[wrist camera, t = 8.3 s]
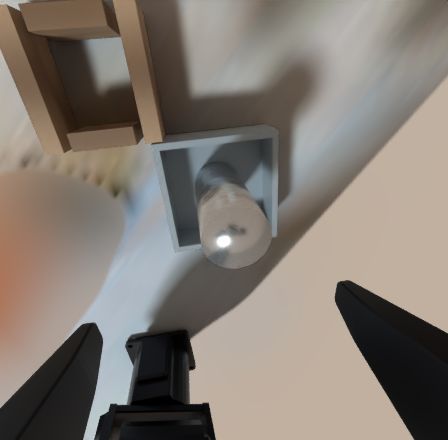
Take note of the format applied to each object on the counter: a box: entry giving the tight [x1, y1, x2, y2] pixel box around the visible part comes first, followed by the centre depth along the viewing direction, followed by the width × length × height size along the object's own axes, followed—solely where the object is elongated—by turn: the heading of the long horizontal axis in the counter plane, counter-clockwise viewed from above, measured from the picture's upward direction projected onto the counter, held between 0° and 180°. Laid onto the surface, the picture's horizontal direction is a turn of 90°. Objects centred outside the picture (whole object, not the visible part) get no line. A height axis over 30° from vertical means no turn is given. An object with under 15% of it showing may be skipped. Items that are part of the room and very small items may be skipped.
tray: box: [151, 124, 279, 252], centre depth 18 cm, size 8×8×3 cm
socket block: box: [0, 0, 166, 155], centre depth 14 cm, size 7×7×3 cm
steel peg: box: [195, 162, 272, 269], centre depth 16 cm, size 4×4×8 cm
